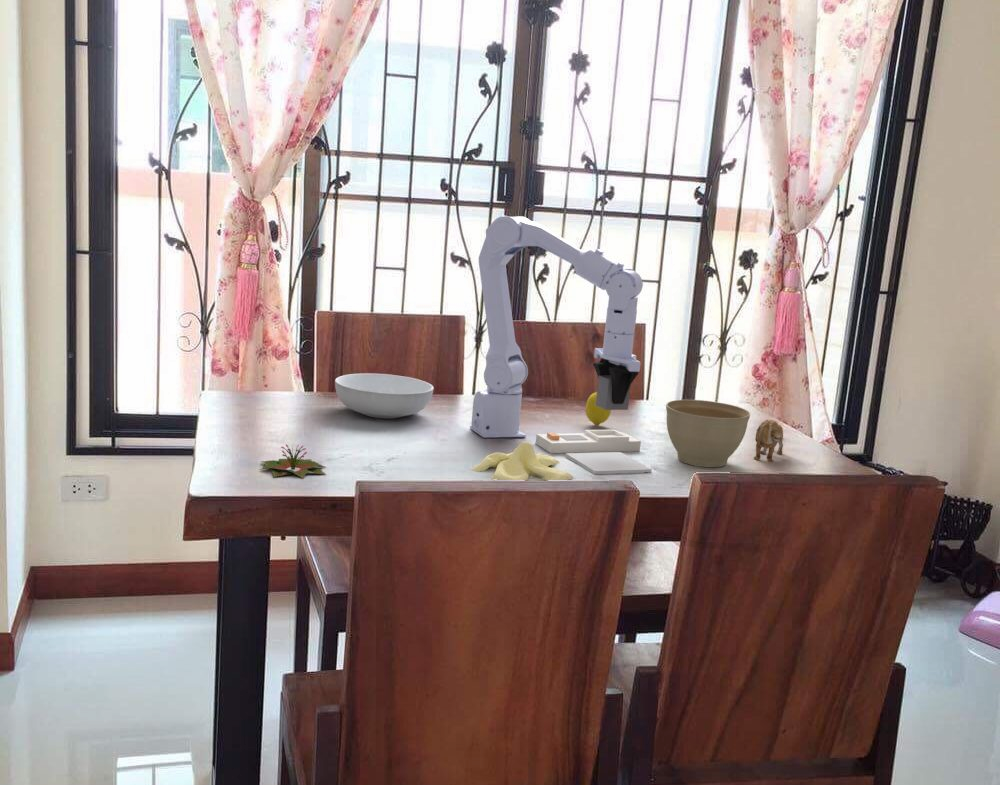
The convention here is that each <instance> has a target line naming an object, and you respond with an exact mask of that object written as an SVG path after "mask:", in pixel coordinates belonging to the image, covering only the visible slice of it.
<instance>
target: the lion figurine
mask: <svg viewBox="0 0 1000 785" xmlns="http://www.w3.org/2000/svg"><path fill="white" fill-rule="evenodd" d="M754 439H755V442H756V443H755V456H753V460H756V461H760V459H761V456H762V455H761V454H766V461H767V462H768V463H769V462H771V463H774V458H773V456H774V455H773V454H774V450H775V447H776V446H777V444H778V450H776V454H779V455H783V448H784V443H783V441H784V429H783V427H782V425H780V424H778V422H777V421H776V420H775V419H772V418H771V419H766V420H764V421H763V422H761V423H760V425H758V427H757V429H756V433H755V437H754ZM762 448H763V449H762ZM767 451H768V452H767Z"/></svg>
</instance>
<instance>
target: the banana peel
mask: <svg viewBox="0 0 1000 785" xmlns="http://www.w3.org/2000/svg"><path fill="white" fill-rule="evenodd" d="M557 464H560V461H559V460H558V459H556V458H555V457H553V456H550V455H547V454H539V453H538V454H537V453H535V450H534V445H533V443H530V442H528V441H526V440H525V441H523V440H522V441H521V442H520V443H519V444H518V445H517V446H516V447H515V448H514V449H513V451H512V452H510V453H505V452H493V453H491V454H489V455H486V456H485V457H484V458H483V460H481V462H480V463H479V464H478V465H476V466H473V467H472V468H470V469H469V471H472V472H484V471H487V470H488V469H489V468H496V469H495V472H494V474H493V475H492V477H491V480H492V479H497V480H527V481H528V480H529V477H530V475H532V476H536V477H539V478H542V479H543V478H544V479H543V480H545V481H547V480H567V479H570V480H572V479H571V478H573V479H574V476H573V475H572V474H571V473H569V472H567V471H566V470H565V471H564V470H559V469H557V468H553V467H554V466H555V465H557ZM549 466H552V467H549ZM567 481H568V480H567Z"/></svg>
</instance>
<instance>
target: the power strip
mask: <svg viewBox="0 0 1000 785" xmlns="http://www.w3.org/2000/svg"><path fill="white" fill-rule="evenodd" d="M641 443H642V441H641V440H639V439H637V438H635V437H634V436H631V435H629V434H627V433H626V432H621V431H618V430H616V429H584V432H583V433H581V432H580V433H579V432H578V433H577V432H576V433H575V432H574V433H573V432H572V433H571V432H570V433H556V432H547V433H536V434H535V444H536V446H538V447H540V448H542V449H543V450H545V451H546V452H548V453H550V454H562V453H565V454H566V453H600V452H640V451H641Z"/></svg>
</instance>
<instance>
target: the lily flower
mask: <svg viewBox="0 0 1000 785" xmlns="http://www.w3.org/2000/svg"><path fill="white" fill-rule="evenodd" d="M299 445H300V443H298V444H297V445H296V449H295V453H294V452H293V451H294V449H293V447H291V448H292V450H291V448H290V447H289V446H288V445H287V444H285V446H286V447H287V448H285V447H284V446H281V447H280V448H282V449H283V450H281V452H282V453H283V454H281V455H282V457H286V458H279V459H278V460H266V461H263V460H260V462H261V463H262V464H265V465H264V466H262V468H259V469H258V470H260V471H261V470H267V469H268V470H269V469H273V470H272V475H273V478H276V477H279V476H285V475H297V476H298V477H300V478H302V479H304V478H305V476H306V474H308V473H312V474H318V475H327V474H326V473H325V472H324V471H323V470H322V469H320V468H326V466H324V465H322V464H321V463H318V462H316V461H313V460H312V458H310V459H303V458H304V457H305V455H306V454H307V453H308V452H307V451H306V450H307V449H306V448H307V447H306V448H304V445H302V446H300V448H299ZM298 448H299V449H298ZM304 450H305V452H304V453H303V454H302V455H301V456H300V457H299V454H300V453H301V452H303V451H304ZM285 451H286V452H287V453H288V454H289V456H288V455H287V453H286V452H285ZM316 467H318V468H319V467H320V468H319V469H318V468H316ZM289 468H290V470H289ZM296 469H298V470H296ZM294 470H295V471H294ZM284 471H287V473H284Z"/></svg>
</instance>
